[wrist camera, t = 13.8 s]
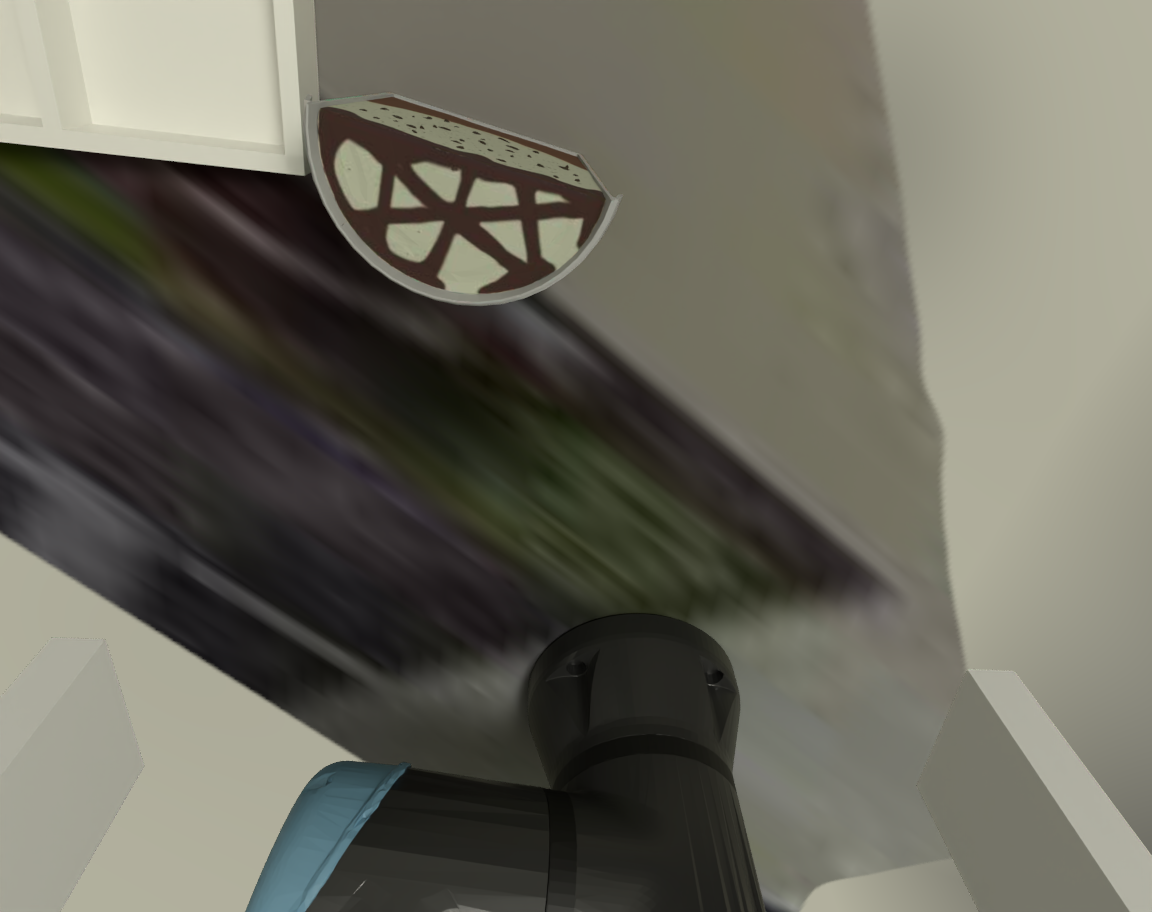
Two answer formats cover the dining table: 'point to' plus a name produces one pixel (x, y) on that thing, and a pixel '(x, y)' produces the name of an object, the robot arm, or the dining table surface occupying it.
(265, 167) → the organiser
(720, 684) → the robot arm
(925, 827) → the dining table surface
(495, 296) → the food container
